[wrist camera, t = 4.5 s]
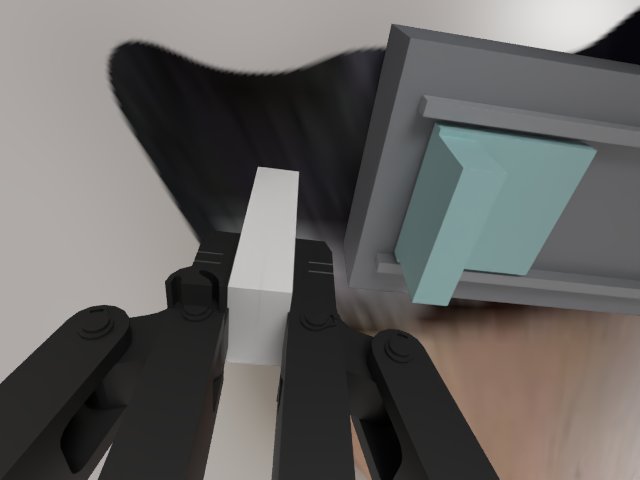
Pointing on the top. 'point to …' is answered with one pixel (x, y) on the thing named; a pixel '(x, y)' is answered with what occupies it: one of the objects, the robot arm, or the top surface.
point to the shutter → (483, 205)
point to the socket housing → (515, 117)
